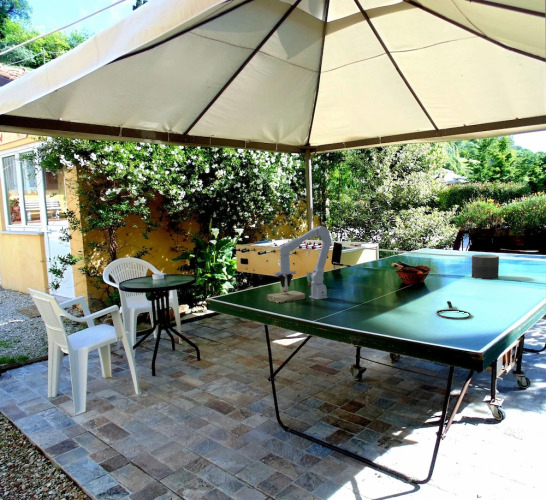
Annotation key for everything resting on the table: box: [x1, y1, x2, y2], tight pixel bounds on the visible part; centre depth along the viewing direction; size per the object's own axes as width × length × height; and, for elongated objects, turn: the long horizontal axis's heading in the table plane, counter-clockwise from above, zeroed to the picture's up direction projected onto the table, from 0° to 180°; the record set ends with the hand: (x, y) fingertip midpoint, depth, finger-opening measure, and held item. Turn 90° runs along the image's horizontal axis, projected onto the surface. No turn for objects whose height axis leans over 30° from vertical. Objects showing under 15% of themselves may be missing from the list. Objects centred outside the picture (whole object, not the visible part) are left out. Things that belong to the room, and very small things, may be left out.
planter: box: [471, 254, 500, 280], centre depth 323 cm, size 18×18×16 cm
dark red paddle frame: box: [435, 300, 472, 319], centre depth 229 cm, size 28×16×3 cm, turn 166°
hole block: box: [266, 290, 306, 304], centre depth 271 cm, size 12×20×3 cm, turn 120°
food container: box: [305, 271, 313, 288], centre depth 308 cm, size 12×6×10 cm, turn 62°
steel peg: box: [282, 275, 289, 293], centre depth 271 cm, size 3×3×10 cm
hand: (285, 286), depth 271 cm, fingers closed on steel peg, 3 cm apart
